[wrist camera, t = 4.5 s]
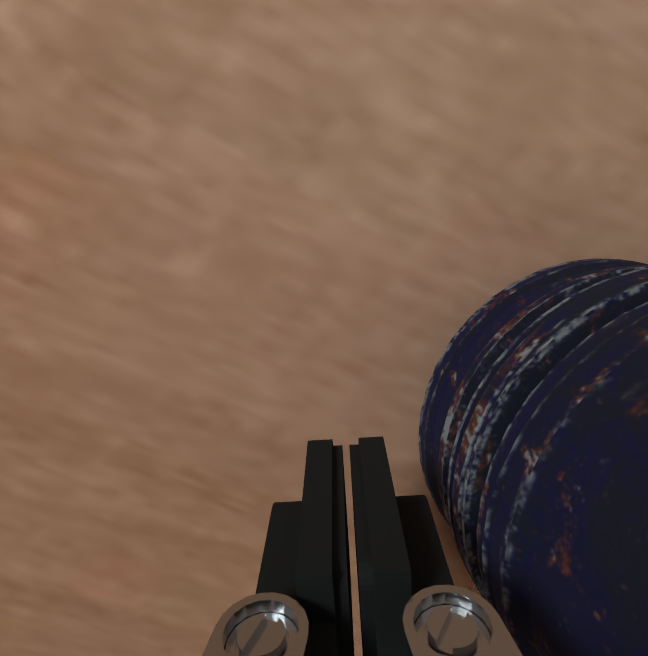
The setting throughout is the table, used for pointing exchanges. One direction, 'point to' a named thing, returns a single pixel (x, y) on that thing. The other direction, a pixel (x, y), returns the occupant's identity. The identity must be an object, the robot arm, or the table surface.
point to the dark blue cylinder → (550, 456)
